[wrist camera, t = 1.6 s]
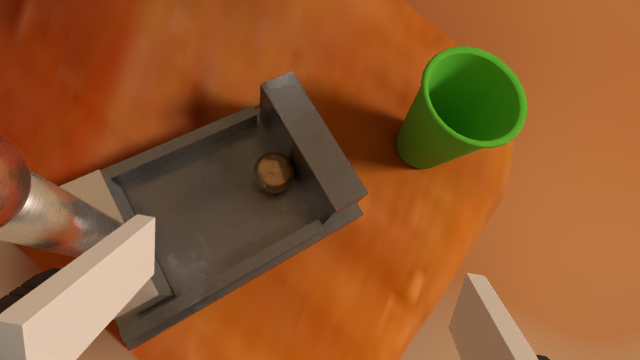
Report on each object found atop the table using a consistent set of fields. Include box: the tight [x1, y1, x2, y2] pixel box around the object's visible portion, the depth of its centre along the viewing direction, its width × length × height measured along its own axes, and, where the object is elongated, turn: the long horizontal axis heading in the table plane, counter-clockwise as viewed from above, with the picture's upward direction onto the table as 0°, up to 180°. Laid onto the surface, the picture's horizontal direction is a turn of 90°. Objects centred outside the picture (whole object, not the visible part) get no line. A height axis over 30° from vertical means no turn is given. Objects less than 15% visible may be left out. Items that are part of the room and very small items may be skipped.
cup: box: [396, 46, 527, 169], centre depth 34 cm, size 9×9×11 cm
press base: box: [100, 71, 368, 350], centre depth 30 cm, size 22×14×8 cm, turn 121°
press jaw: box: [0, 136, 173, 320], centre depth 20 cm, size 4×10×20 cm, turn 31°
